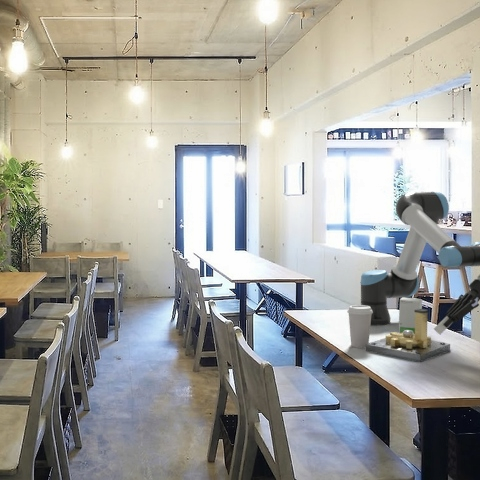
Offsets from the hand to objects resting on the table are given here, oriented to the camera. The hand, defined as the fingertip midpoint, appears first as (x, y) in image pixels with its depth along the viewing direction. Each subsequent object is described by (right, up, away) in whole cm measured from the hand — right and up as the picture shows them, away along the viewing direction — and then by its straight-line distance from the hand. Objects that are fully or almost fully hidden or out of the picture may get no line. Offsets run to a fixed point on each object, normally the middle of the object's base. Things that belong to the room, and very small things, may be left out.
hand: (436, 331), depth 209 cm
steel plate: (-9, -8, +6) cm, 13 cm away
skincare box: (-1, -7, +28) cm, 29 cm away
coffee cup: (-25, -8, +14) cm, 30 cm away
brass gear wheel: (-9, -5, +6) cm, 12 cm away
